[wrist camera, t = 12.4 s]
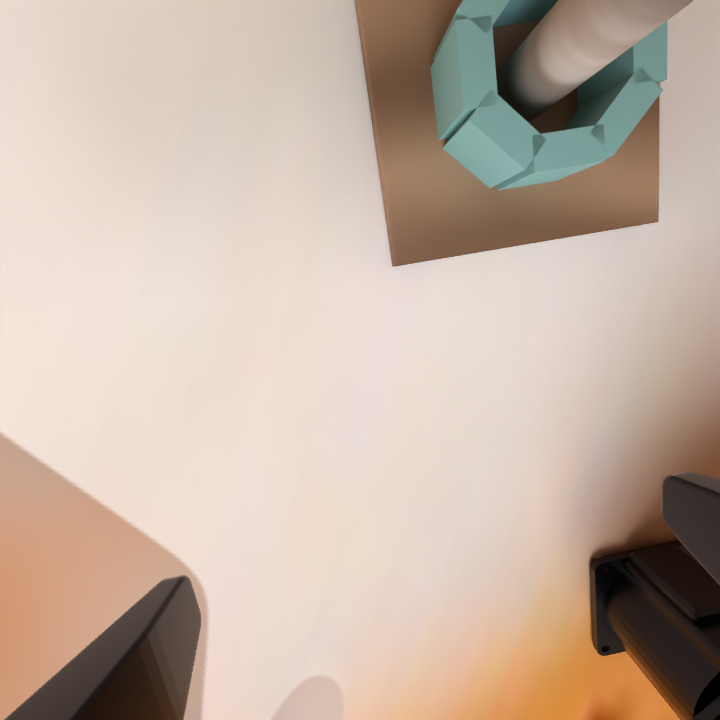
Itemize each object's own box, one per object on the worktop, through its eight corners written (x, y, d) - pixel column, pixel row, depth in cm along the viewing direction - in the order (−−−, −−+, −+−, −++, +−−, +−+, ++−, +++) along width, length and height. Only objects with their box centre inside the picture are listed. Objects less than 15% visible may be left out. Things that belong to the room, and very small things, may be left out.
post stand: (640, 224, 19) (870, 188, 11) (392, 266, 18) (445, 260, 10) (639, -84, 16) (944, -429, 8) (348, -47, 15) (373, -384, 7)
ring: (606, 172, 17) (666, 150, 14) (445, 199, 17) (471, 182, 14) (602, -25, 15) (668, -96, 12) (422, 0, 15) (446, -66, 12)
